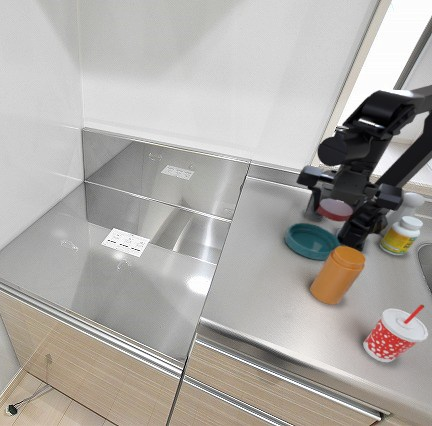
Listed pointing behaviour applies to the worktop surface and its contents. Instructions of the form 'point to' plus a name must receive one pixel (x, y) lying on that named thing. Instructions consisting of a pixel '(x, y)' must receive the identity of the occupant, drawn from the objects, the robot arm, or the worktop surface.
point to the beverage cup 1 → (325, 195)
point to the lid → (335, 210)
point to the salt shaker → (404, 209)
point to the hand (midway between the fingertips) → (330, 216)
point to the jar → (337, 274)
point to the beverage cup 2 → (395, 334)
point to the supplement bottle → (401, 235)
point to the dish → (311, 240)
